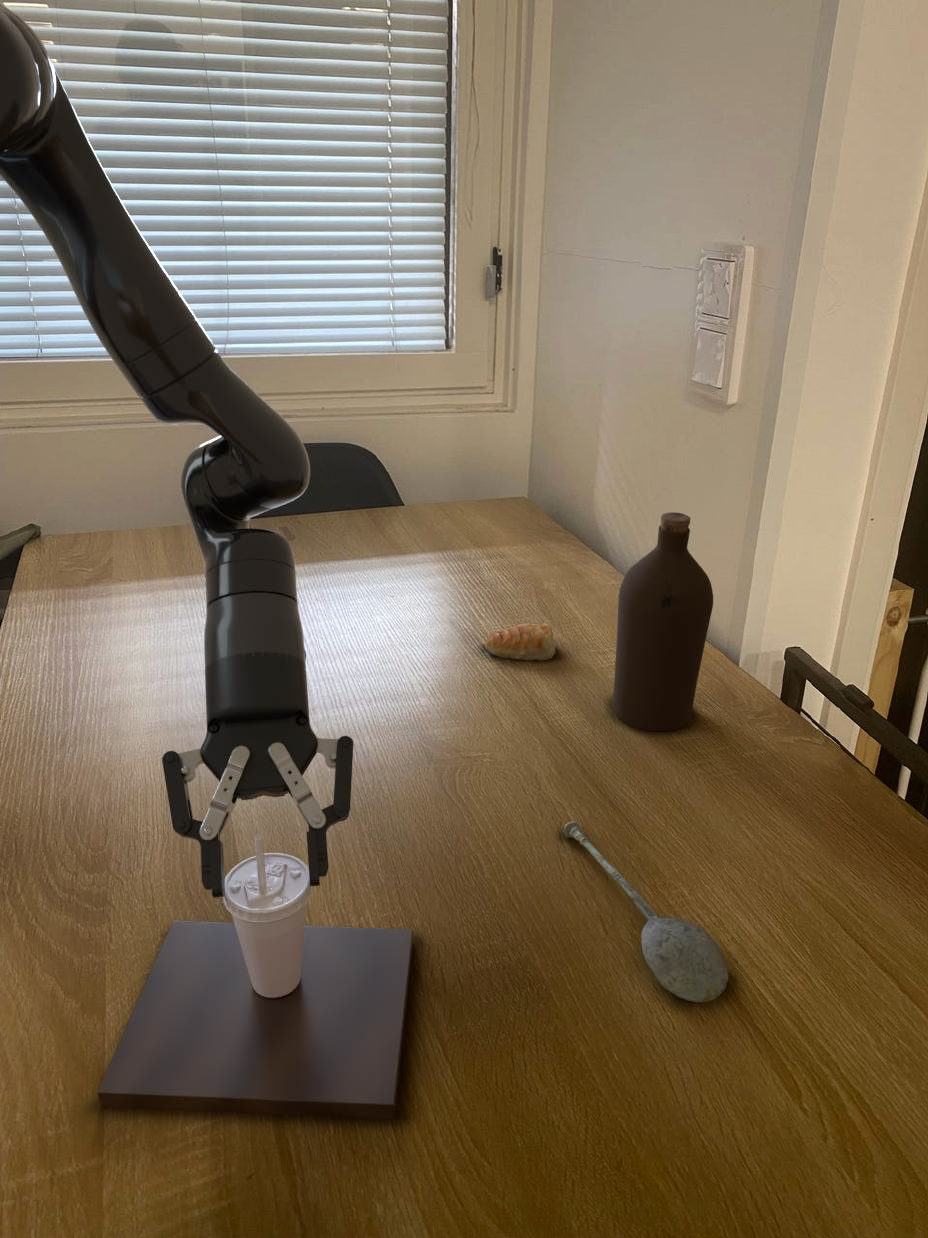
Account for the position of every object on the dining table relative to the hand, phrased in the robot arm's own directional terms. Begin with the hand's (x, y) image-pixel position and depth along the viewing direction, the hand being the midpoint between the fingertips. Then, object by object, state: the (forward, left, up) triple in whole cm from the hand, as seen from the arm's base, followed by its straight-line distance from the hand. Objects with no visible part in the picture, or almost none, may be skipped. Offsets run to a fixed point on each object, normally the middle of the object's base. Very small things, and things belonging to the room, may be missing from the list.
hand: (267, 890), depth 64 cm
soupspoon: (+29, +13, -12) cm, 34 cm away
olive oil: (+36, +47, -12) cm, 60 cm away
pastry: (+21, +62, -12) cm, 66 cm away
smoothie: (0, +2, -10) cm, 11 cm away
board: (0, 0, -12) cm, 12 cm away
